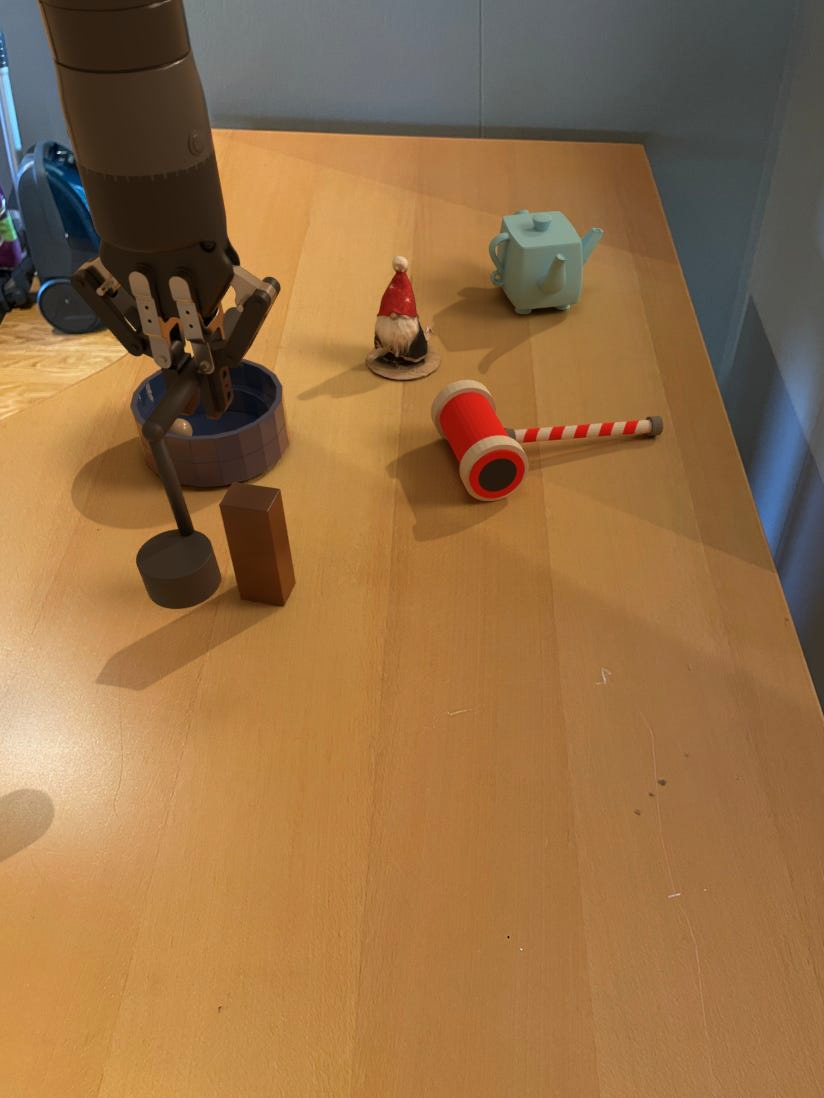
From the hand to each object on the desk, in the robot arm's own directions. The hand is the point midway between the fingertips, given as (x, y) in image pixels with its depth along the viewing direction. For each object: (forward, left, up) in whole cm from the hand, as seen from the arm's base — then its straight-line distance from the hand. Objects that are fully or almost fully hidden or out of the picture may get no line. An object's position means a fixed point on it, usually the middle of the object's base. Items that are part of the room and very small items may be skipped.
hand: (203, 409), depth 66 cm
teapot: (+15, +60, -21) cm, 65 cm away
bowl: (-12, +22, -20) cm, 32 cm away
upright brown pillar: (0, +3, -20) cm, 21 cm away
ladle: (+1, -2, -8) cm, 8 cm away
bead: (-15, +21, -19) cm, 32 cm away
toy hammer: (+19, +28, -21) cm, 40 cm away
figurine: (+2, +42, -21) cm, 47 cm away
